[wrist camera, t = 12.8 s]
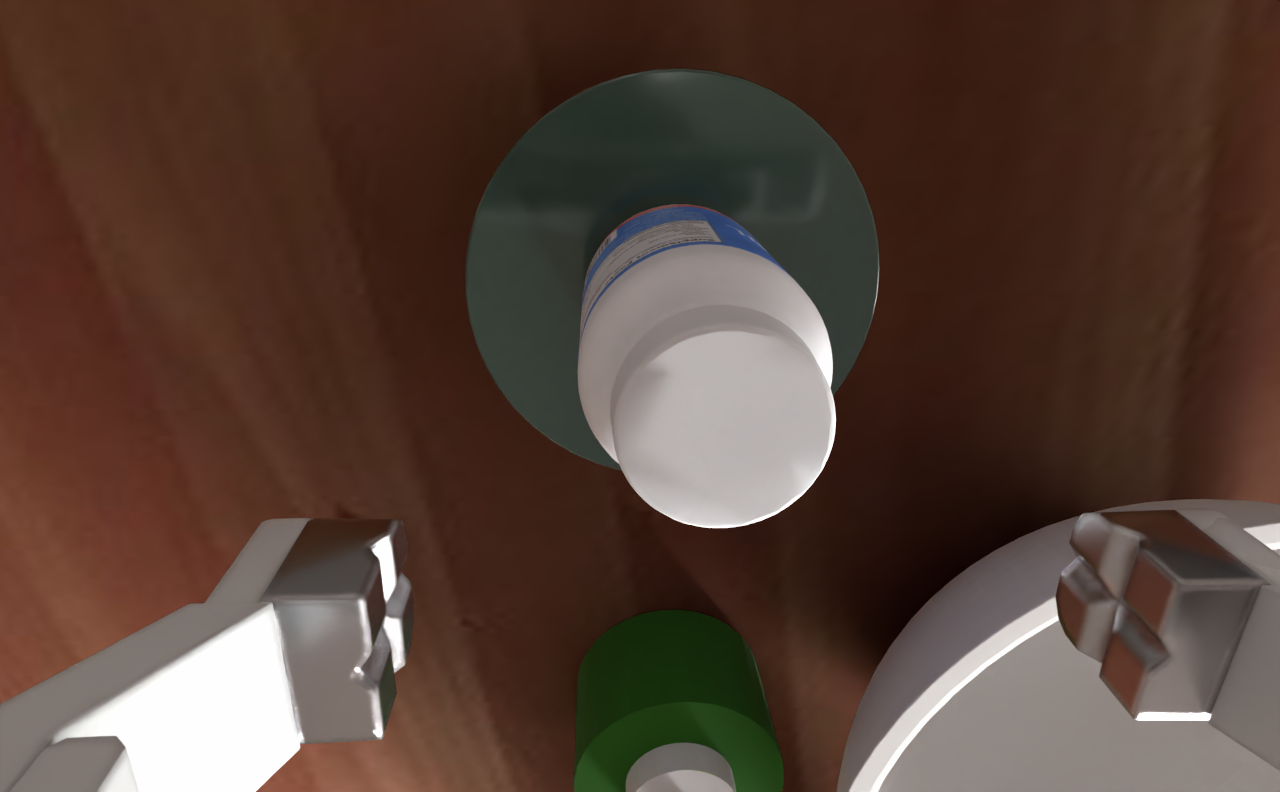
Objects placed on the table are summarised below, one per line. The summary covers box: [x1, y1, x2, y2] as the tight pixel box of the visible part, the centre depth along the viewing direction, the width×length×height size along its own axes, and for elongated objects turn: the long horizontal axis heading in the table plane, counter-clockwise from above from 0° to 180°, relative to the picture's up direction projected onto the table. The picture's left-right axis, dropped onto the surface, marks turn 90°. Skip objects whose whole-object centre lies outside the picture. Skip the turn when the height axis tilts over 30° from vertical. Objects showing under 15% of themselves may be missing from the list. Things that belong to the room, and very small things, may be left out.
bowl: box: [836, 499, 1280, 792], centre depth 33 cm, size 27×27×10 cm
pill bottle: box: [578, 204, 836, 528], centre depth 19 cm, size 6×5×10 cm
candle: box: [574, 610, 784, 792], centre depth 32 cm, size 8×8×10 cm
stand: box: [465, 68, 880, 471], centre depth 26 cm, size 12×12×6 cm
